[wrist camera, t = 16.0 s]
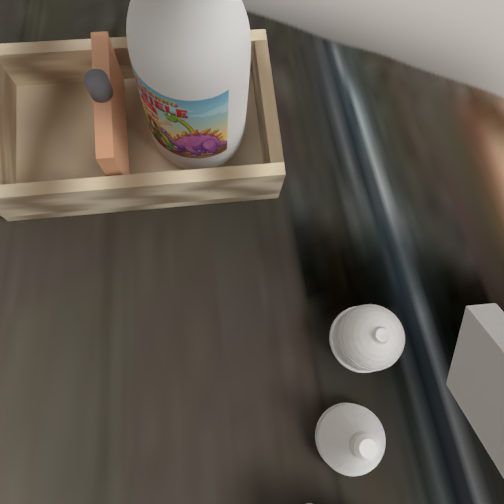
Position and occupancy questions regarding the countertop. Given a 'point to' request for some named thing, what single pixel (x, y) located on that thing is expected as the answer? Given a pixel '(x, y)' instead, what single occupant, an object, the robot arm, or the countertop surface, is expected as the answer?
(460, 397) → the robot arm
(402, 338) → the container set
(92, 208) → the wooden box
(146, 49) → the milk bottle
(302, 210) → the countertop surface
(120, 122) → the pusher
